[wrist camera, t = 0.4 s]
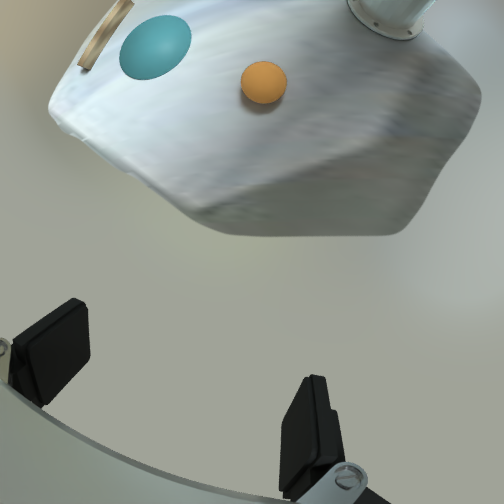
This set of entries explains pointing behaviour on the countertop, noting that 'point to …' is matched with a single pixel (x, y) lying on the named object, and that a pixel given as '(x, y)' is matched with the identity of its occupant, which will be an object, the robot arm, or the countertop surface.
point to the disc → (155, 47)
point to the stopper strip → (104, 33)
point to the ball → (263, 82)
